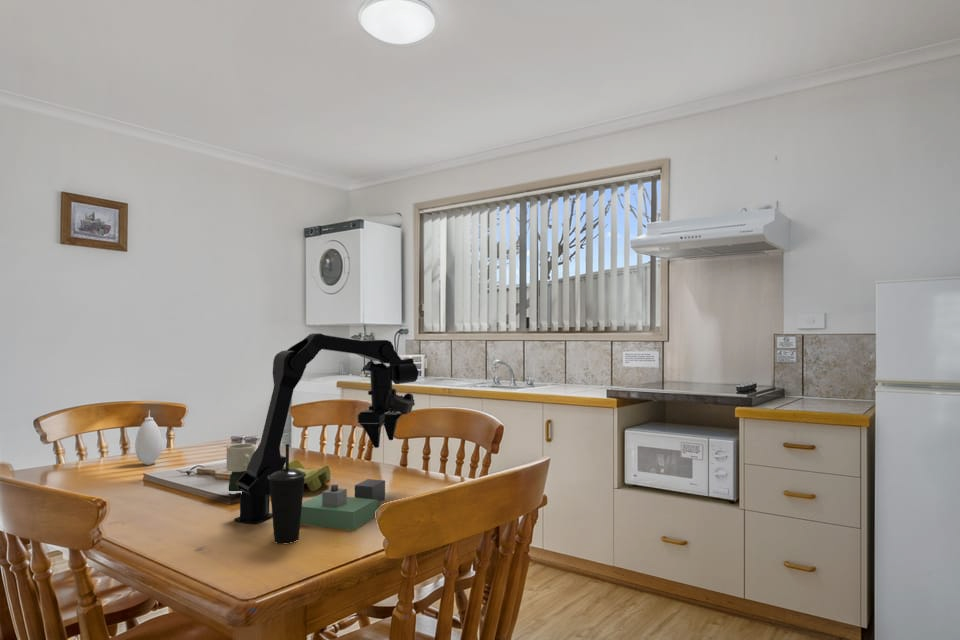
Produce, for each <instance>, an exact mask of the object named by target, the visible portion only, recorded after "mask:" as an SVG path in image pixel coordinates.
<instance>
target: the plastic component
mask: <svg viewBox="0 0 960 640" xmlns="http://www.w3.org/2000/svg"><path fill="white" fill-rule="evenodd" d="M285 467H286V464H284V467H283V469H285ZM289 468H293V469H297V470H300V471H302V472H305V473H306V477H305V479H304V485H305V484H306V485H307V487H308V490H309V491H310V492H314V491H317V490H319V489H320V488H321V487H322V486H323V483H326V482H328V481H329V480H330V479H331V469H330V467H329V466H328V465H322V467H315V468H312V469H305V467H304V466H303V464H302V463H301V462H300V460H298V459H293V460H292V461H289Z"/></svg>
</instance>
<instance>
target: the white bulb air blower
mask: <svg viewBox="0 0 960 640" xmlns="http://www.w3.org/2000/svg"><path fill="white" fill-rule="evenodd" d="M134 448H135V449H134V450H135V454H136V457H137V459H138V461H139V462H142V464H144V465H145V466H150V465H151V466H152V465H153V464H154V463H155V462H156V461H158V459H160V456H161V454H162V452H163V451H162V450H163V438H162V433H161V430H160V427H159V425H158V424H157V423H156V421H155V420H154V417H152V416H151V410H150V409H149V410H148V416H147V417H145V418H144V421H143V422H142V423H141V425H140V427H139V429H138V431H137V433H136V437H135V443H134Z"/></svg>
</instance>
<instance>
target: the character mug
mask: <svg viewBox="0 0 960 640" xmlns="http://www.w3.org/2000/svg"><path fill="white" fill-rule="evenodd" d="M255 451H256V445H255V444H254V443H235V444H230V445H228V446H227V447H226V471H228V472H231V474H230V476H229V482H228V489H227V491H228V490H229V491H240V490H239V489H238V487H237V484H236V482H237V481H238V480H239V479H240V477H241V476H242V475H243V474H244V473H245V472H246V471H247V467H248V464H249V462H250V460H251V457H252V455H253V453H254V452H255Z"/></svg>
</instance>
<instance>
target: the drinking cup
mask: <svg viewBox="0 0 960 640" xmlns="http://www.w3.org/2000/svg"><path fill="white" fill-rule="evenodd" d="M285 457H286V462H285V465H286V467H285V469H280V470H278V471H275V472H274V473H272V474H270V475H268V479H269V482H270V494H269V495H270V503H271V505H270V506H271V513H272V517H271V518H272V526H273V539H274V540H273V541H274V543H275V542H277V543H276V544H278V543H289V544H291V543H290V542H293V543H295V542H294V541H296V540H298V541H299V539H300V538H299V537H300V528H301V524H300V520H301V509H302V503H303V497H304V488H305V486H304V485H305V484H304V479H305V477H306V473H305V472H302V471H300V470H297V469H293V468H289V463H290V444H289V443H286V444H285ZM296 542H297V541H296Z"/></svg>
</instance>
